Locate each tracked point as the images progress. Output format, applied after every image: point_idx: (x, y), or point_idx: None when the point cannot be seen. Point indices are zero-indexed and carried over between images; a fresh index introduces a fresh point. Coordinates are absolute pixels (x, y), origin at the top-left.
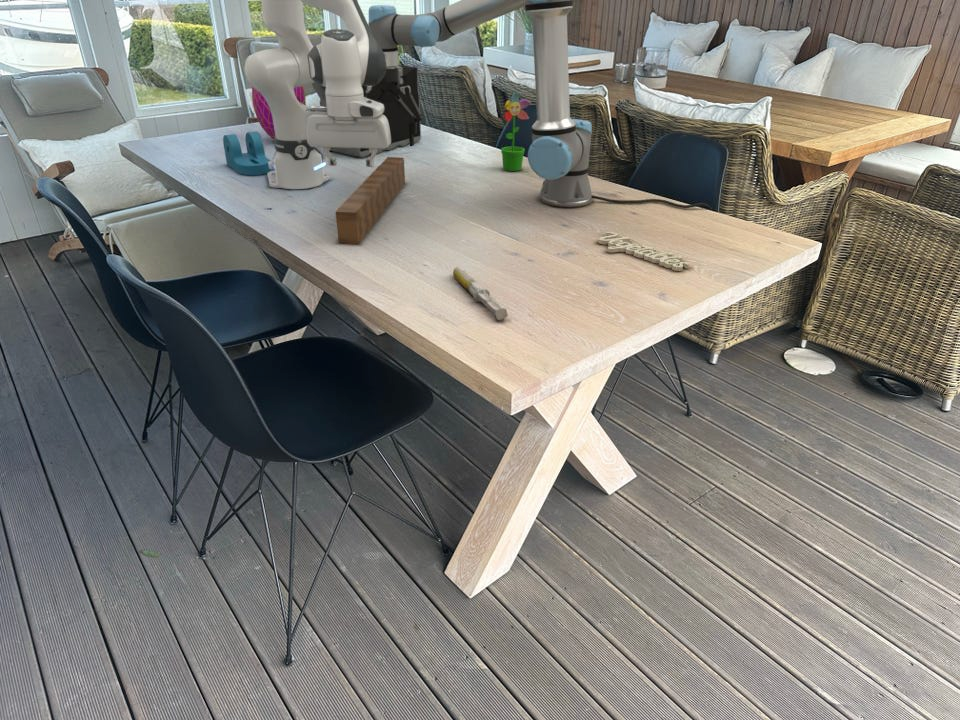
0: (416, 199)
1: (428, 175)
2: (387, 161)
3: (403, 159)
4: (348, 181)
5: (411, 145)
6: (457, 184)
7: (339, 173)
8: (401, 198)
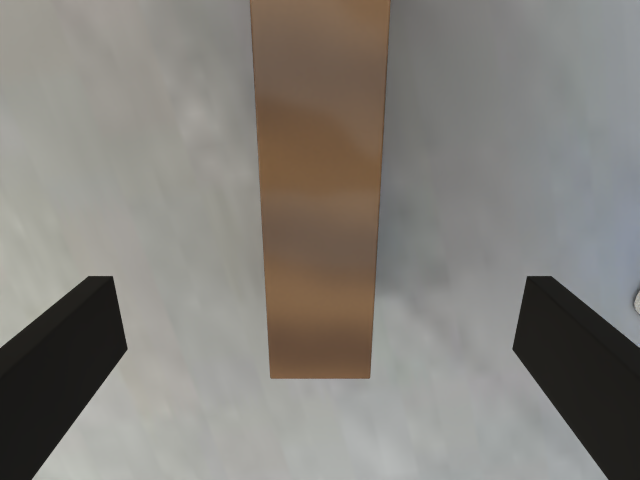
0: (158, 68)
1: (220, 418)
2: (348, 285)
3: (270, 360)
4: None
5: (90, 279)
6: None
7: None
8: (237, 73)
